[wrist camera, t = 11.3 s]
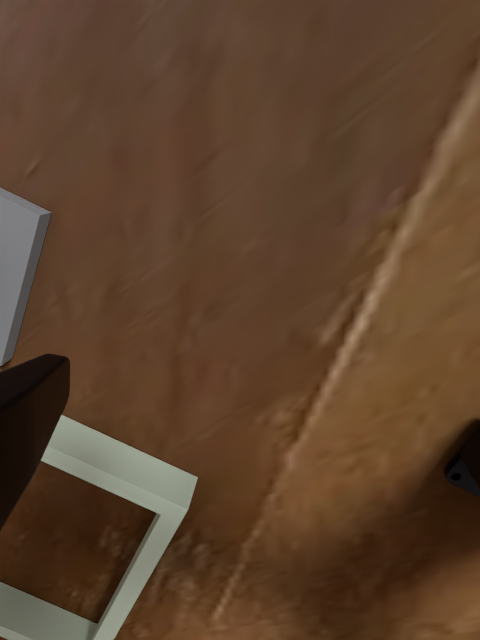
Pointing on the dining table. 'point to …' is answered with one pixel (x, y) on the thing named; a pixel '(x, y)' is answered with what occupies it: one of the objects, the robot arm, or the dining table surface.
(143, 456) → the empty rectangular frame
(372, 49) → the dining table surface
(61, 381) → the robot arm
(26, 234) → the rubber mat
